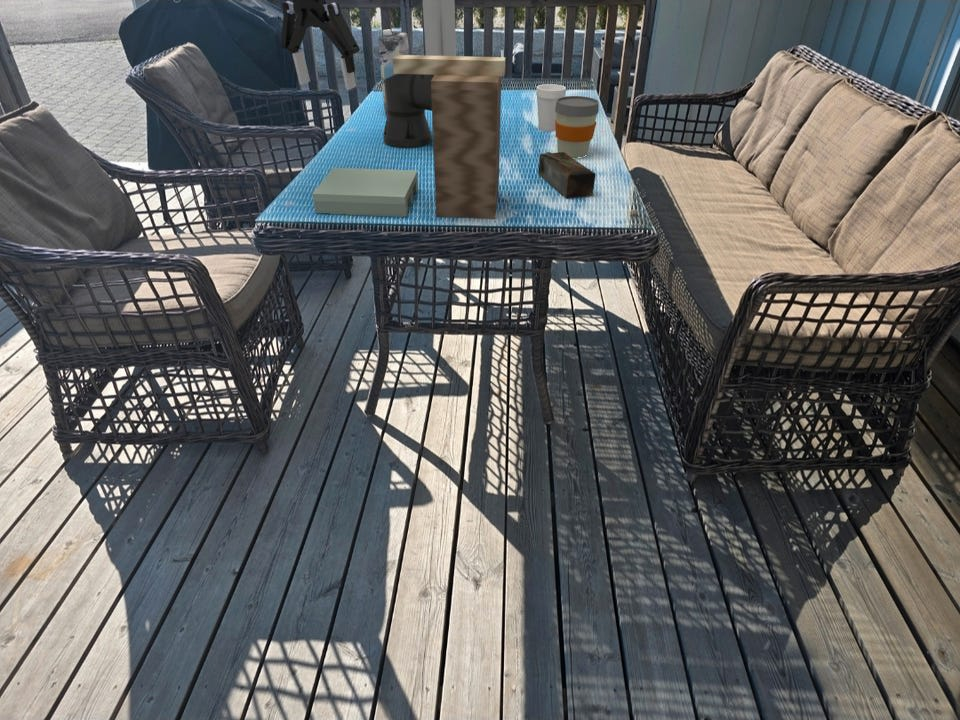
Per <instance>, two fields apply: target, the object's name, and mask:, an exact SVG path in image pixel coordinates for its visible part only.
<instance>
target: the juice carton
mask: <svg viewBox="0 0 960 720" xmlns="http://www.w3.org/2000/svg"><path fill="white" fill-rule="evenodd" d="M378 49H379V50H378V53H379V62H380V63H379V64H380V74H381V87H382V96H383V97H382V98H383V107H384V112H385V116H386V117H387V106H386V96H385V85H384V67H385V65H386V64H388V63H390V62H393V58H394V57H395V56H396V55H410V46H409V38H408V33H406V32H397V31H393V32H392V28H391V29H389V28H388V29H383V30H382V35H380V36H379V37H378Z"/></svg>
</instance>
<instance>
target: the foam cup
mask: <svg viewBox="0 0 960 720" xmlns="http://www.w3.org/2000/svg"><path fill="white" fill-rule="evenodd" d="M535 93H536V94H535V95H536V101H537V120H538V129H539V131H542V132H547V131H549V133H550V132H555V120H556V112H555V107H556V102H557V99H558V98H561V97H566V93H567V87H566V86H564V85H562V84H557V83H553V84H552V83H546V84H539V85H537V86H536V91H535Z"/></svg>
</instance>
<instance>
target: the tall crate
mask: <svg viewBox="0 0 960 720" xmlns="http://www.w3.org/2000/svg"><path fill="white" fill-rule="evenodd" d="M502 77H503V76H470V75H434V77H433V78H432V80H431V98H432V111H431V120H432V145H433V169H434V190H435V191H434V193H435V217H437V218H457V219H458V218H461V219H463V218H464V219H484V220H485V219H487V220H495V219H496V213H497V207H498V206H497V205H498V200H499V192H500V190H499V189H500V187H499V186H500V184H499V183H500V181H499V180H500V154H501V153H500V151H501V150H500V149H501V147H500V145H501V116H502V115H501V110H502V109H501V108H502V107H501V106H502V105H501V103H502Z"/></svg>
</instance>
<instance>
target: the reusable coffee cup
mask: <svg viewBox="0 0 960 720" xmlns="http://www.w3.org/2000/svg"><path fill="white" fill-rule="evenodd" d="M599 103H600V102H599V100H598V99H596V98H593V97H590V96H584V95H583V96H582V95H569V96H568V95H567V96H566V95H565V97H561V98H558V99H557V102H556V107H555V112H556V120H555V131H554V132H555V137H556V142H557V143H556V144H557V145H556V146H557V152H565V153H566V154H567V155H569V156H570V157H572V158H577V159H579V158H578V157H583V156H585V155H587V156H588V154H589V149H590V145H591V141H592V139H594V134H595V130H596V126H597V121H596V120H597V116H598V114H599V111H600V107H599V106H600V105H599ZM583 158H584V157H583Z"/></svg>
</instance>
